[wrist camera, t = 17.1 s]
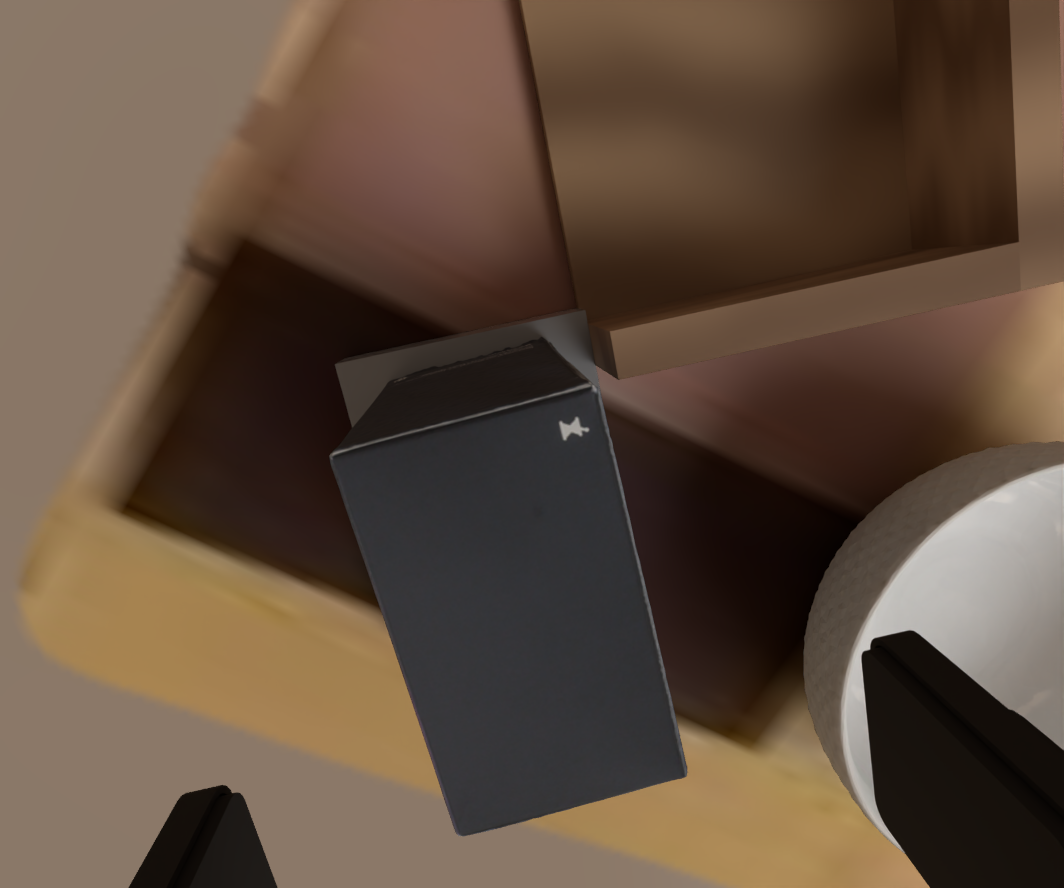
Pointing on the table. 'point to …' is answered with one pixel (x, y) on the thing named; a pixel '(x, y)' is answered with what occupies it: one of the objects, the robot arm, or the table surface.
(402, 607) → the small box
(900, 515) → the cereal bowl
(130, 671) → the table surface
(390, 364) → the slate stand
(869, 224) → the box
